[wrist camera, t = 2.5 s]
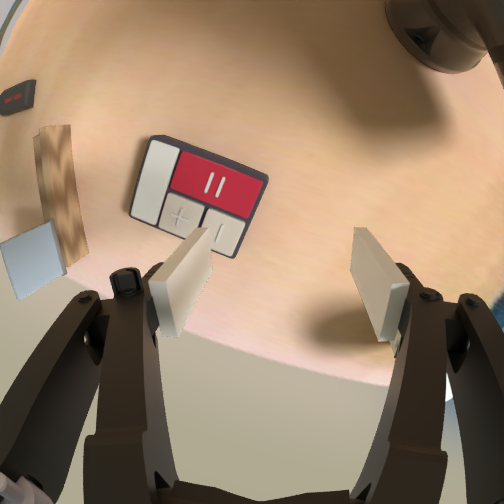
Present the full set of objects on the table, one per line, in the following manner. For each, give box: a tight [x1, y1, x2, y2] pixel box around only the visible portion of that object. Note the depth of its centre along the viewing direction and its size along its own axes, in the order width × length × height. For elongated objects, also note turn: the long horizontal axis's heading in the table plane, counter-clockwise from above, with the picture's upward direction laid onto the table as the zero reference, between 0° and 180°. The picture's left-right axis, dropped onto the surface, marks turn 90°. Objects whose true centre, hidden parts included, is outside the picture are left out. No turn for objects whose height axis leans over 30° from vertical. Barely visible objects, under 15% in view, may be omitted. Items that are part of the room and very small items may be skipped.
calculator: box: [129, 135, 269, 259], centre depth 34 cm, size 11×4×15 cm
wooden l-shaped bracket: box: [33, 125, 89, 267], centre depth 35 cm, size 21×8×6 cm, turn 2°
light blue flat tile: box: [0, 219, 67, 300], centre depth 30 cm, size 8×10×1 cm
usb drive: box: [0, 80, 36, 115], centre depth 30 cm, size 5×12×3 cm, turn 84°
